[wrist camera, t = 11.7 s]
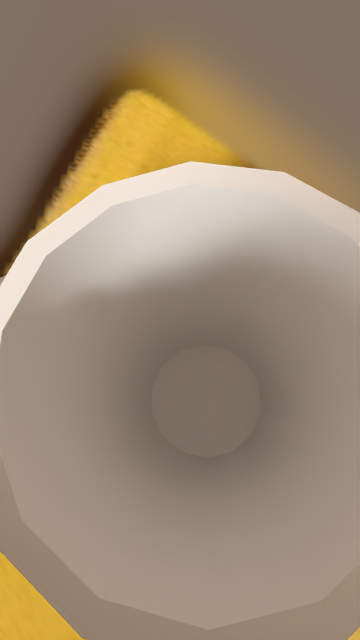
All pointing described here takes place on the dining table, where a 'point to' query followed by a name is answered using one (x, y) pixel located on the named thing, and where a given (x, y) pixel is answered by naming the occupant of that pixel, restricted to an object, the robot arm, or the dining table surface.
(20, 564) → the foam cup
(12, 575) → the dining table surface
